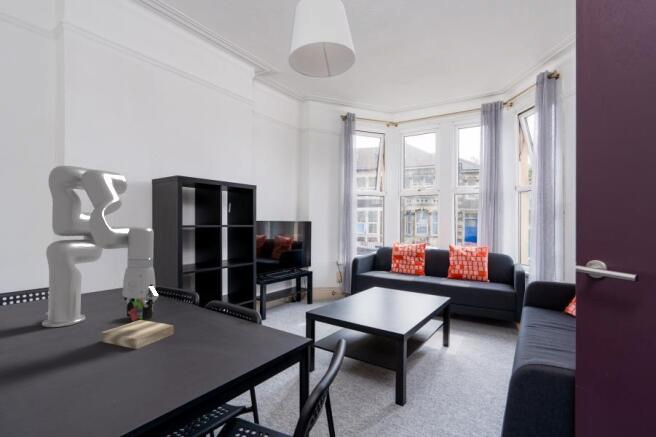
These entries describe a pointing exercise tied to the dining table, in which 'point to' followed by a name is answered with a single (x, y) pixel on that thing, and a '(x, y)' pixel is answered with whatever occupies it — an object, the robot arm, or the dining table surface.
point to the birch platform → (137, 334)
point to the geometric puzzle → (136, 311)
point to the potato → (139, 318)
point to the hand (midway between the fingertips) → (139, 316)
